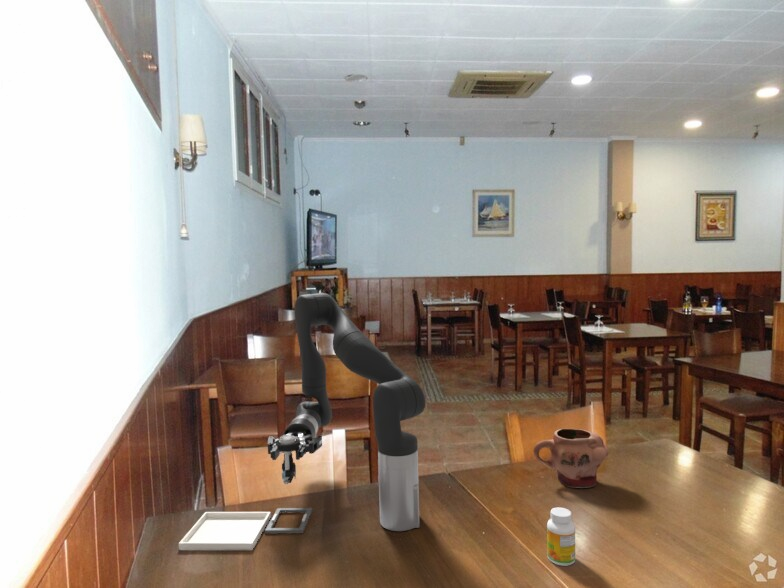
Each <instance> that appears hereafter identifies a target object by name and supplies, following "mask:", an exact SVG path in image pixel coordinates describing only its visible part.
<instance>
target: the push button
mask: <svg viewBox="0 0 784 588" xmlns="http://www.w3.org/2000/svg"><path fill="white" fill-rule="evenodd" d="M281 436H282V437H281ZM281 436H279V438H280V440H278V441H277V442H276V445H277V448H278V451H281V452H283V453H282V454H283V462H282V463H281V470H282V473H281V479H282V480H283V481H282V482H283V483H284V485H289V484H291V483H292V481H293V479H296V478H297V477H296V475H297V470H296V469H297V468H296V467H297V466H296V463H295V462H294V457H293V452H295V451H294V450H296V449H297V448H298V443H299V440H298V439H296V438H295V436H293V435H286V436H283V435H281Z"/></svg>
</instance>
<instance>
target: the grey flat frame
mask: <svg viewBox="0 0 784 588" xmlns="http://www.w3.org/2000/svg"><path fill="white" fill-rule="evenodd" d="M285 511H286V512H306V513H303V517H302V519H301V523H300V526H299V527H274V526H275V524H276V523H275V522H277V521H278V519H279V517H280V515H281V513H280V512H285ZM311 511H312V512H313V508H312V507H288V508H287V507H277V508H276V510H275V512H274V514H273V515H272V516H271V519H270V521H269V522H268V524H267V526H266V528H265V529H264V534H265V535H269V534H271V535H275V534H276V533H277V535H279V534H278V533H303V534H304V532H305V529H306V527H307V525H308V522H309V520H308V519H310V517H311V515H312V513H311ZM279 514H280V515H279ZM310 514H311V515H310ZM278 516H279V517H278ZM309 516H310V517H309ZM277 518H278V519H277ZM276 520H277V521H276ZM307 521H308V522H307ZM306 524H307V525H306ZM305 526H306V527H305ZM303 531H304V532H303ZM266 533H267V534H266ZM268 533H269V534H268Z"/></svg>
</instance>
